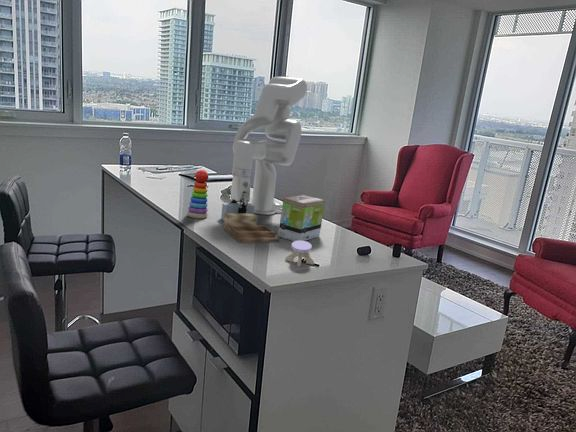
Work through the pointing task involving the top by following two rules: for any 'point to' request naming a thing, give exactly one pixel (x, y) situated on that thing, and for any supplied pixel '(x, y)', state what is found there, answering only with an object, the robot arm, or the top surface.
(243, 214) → the beige rectangular block
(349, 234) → the top surface
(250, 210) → the light blue rectangular block
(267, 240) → the cradle jig
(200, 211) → the stacking toy
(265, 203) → the robot arm
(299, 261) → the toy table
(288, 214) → the tea box
